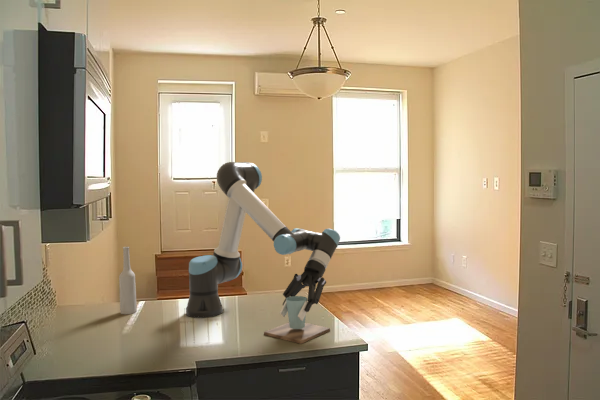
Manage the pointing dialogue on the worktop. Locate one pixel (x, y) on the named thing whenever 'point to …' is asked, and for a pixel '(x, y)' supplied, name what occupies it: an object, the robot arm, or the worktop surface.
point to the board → (297, 332)
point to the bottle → (127, 286)
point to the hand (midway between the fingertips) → (290, 316)
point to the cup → (295, 311)
